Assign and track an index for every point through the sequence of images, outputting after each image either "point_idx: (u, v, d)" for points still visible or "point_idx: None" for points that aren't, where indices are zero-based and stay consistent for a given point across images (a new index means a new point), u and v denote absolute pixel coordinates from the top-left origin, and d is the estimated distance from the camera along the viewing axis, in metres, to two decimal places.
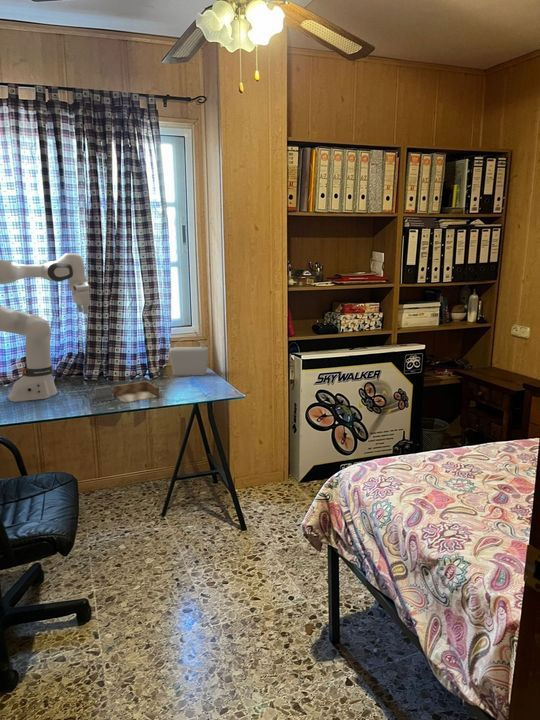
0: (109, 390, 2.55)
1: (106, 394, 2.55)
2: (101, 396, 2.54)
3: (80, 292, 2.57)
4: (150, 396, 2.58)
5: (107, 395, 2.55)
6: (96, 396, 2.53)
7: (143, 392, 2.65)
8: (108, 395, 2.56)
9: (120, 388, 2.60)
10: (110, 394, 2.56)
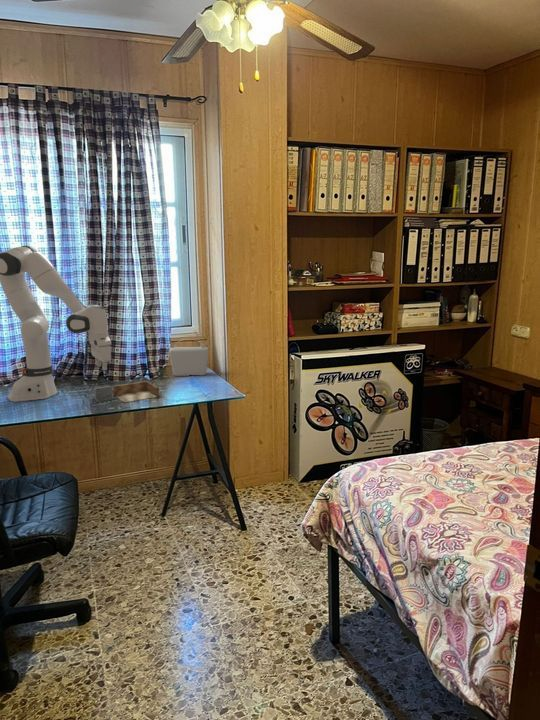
0: (109, 390, 2.55)
1: (106, 394, 2.55)
2: (101, 396, 2.54)
3: (101, 347, 2.42)
4: (150, 396, 2.58)
5: (107, 395, 2.55)
6: (96, 396, 2.53)
7: (143, 392, 2.65)
8: (108, 395, 2.56)
9: (120, 388, 2.60)
10: (110, 394, 2.56)
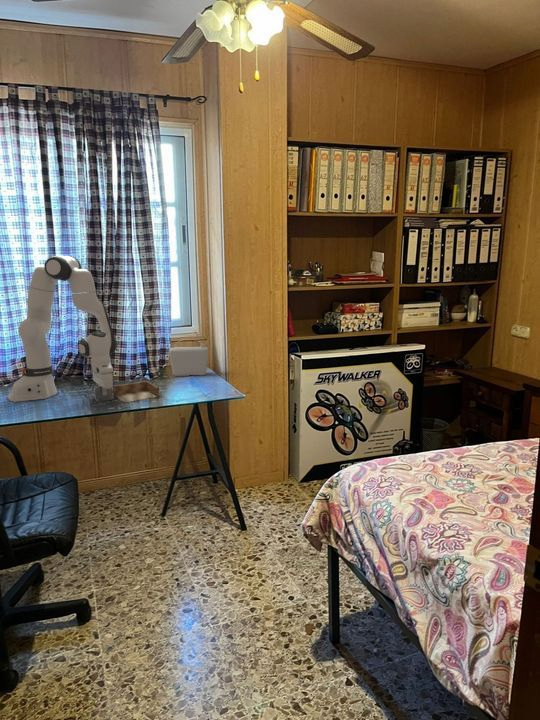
0: (109, 390, 2.55)
1: (106, 394, 2.55)
2: (101, 396, 2.54)
3: (103, 375, 2.44)
4: (150, 396, 2.58)
5: (107, 395, 2.55)
6: (96, 396, 2.53)
7: (143, 392, 2.65)
8: (108, 395, 2.56)
9: (120, 388, 2.60)
10: (110, 394, 2.56)
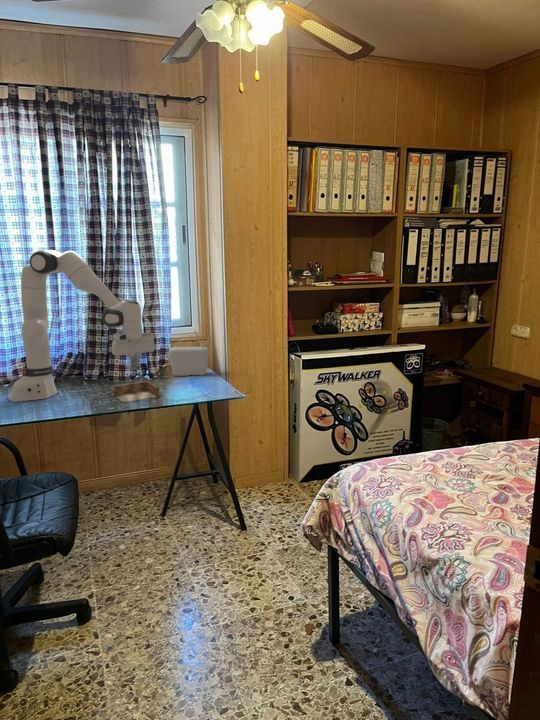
0: (135, 360, 2.52)
1: (134, 363, 2.54)
2: (132, 363, 2.56)
3: (113, 340, 2.49)
4: (150, 396, 2.58)
5: (134, 364, 2.53)
6: None
7: (143, 392, 2.65)
8: (134, 365, 2.53)
9: (120, 388, 2.60)
10: (135, 364, 2.52)
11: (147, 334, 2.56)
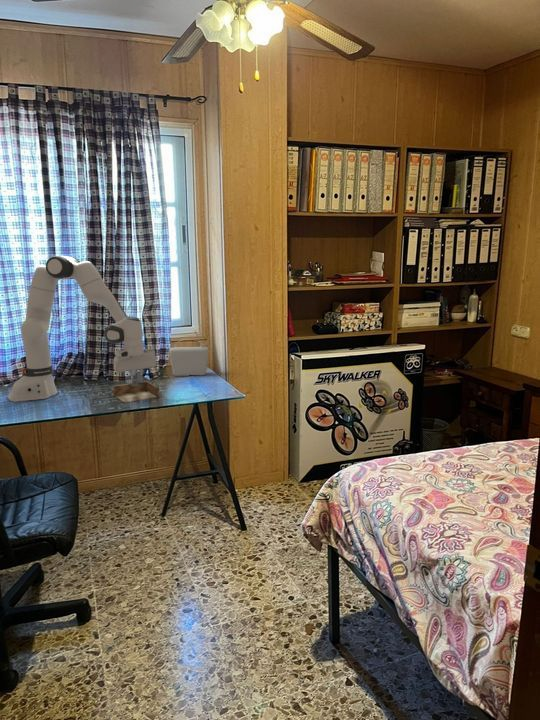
0: (136, 376, 2.54)
1: (135, 379, 2.55)
2: (134, 379, 2.58)
3: (115, 357, 2.51)
4: (150, 396, 2.58)
5: (136, 380, 2.55)
6: None
7: (143, 392, 2.65)
8: (136, 381, 2.55)
9: (120, 388, 2.60)
10: (137, 380, 2.54)
11: (148, 350, 2.58)
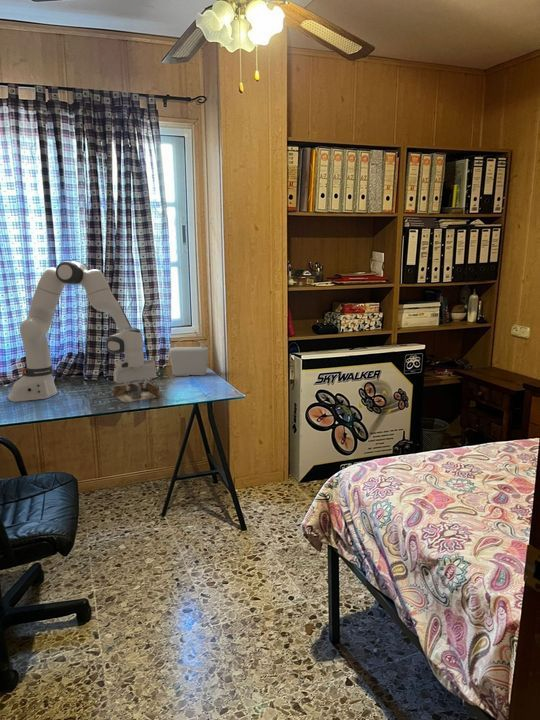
0: (136, 389, 2.55)
1: (135, 392, 2.57)
2: (134, 392, 2.59)
3: (115, 368, 2.52)
4: (150, 396, 2.58)
5: (136, 393, 2.56)
6: (132, 390, 2.61)
7: (143, 392, 2.65)
8: (136, 393, 2.56)
9: (120, 388, 2.60)
10: (137, 393, 2.55)
11: (149, 361, 2.59)
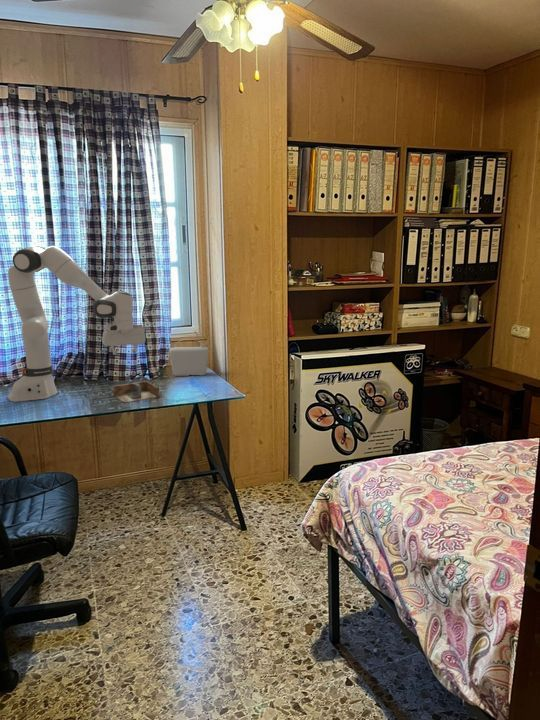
0: (136, 389, 2.55)
1: (135, 392, 2.57)
2: (134, 392, 2.59)
3: (104, 331, 2.51)
4: (150, 396, 2.58)
5: (136, 393, 2.56)
6: (132, 390, 2.61)
7: (143, 392, 2.65)
8: (136, 393, 2.56)
9: (120, 388, 2.60)
10: (137, 393, 2.55)
11: (138, 326, 2.58)
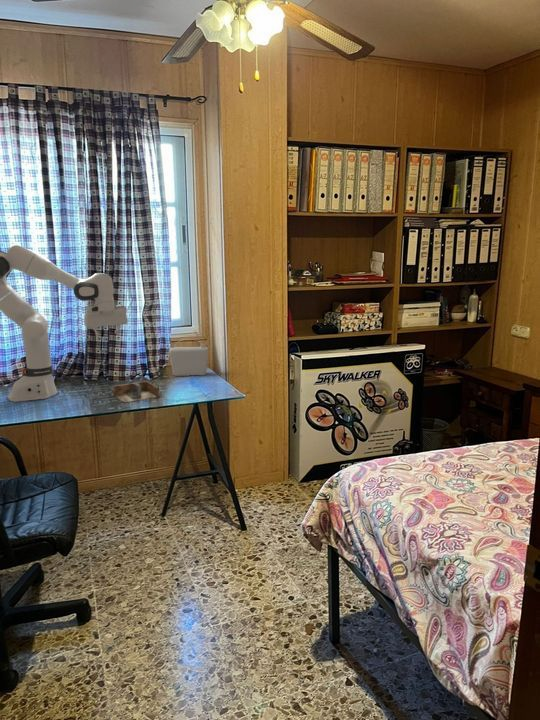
0: (136, 389, 2.55)
1: (135, 392, 2.57)
2: (134, 392, 2.59)
3: (86, 312, 2.56)
4: (150, 396, 2.58)
5: (136, 393, 2.56)
6: (132, 390, 2.61)
7: (143, 392, 2.65)
8: (136, 393, 2.56)
9: (120, 388, 2.60)
10: (137, 393, 2.55)
11: (119, 307, 2.62)
